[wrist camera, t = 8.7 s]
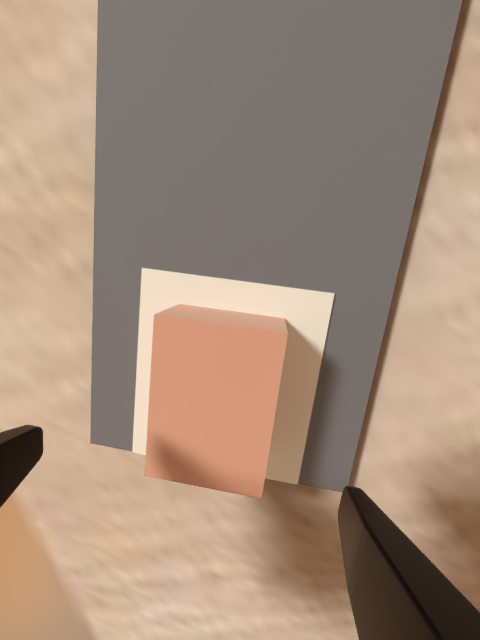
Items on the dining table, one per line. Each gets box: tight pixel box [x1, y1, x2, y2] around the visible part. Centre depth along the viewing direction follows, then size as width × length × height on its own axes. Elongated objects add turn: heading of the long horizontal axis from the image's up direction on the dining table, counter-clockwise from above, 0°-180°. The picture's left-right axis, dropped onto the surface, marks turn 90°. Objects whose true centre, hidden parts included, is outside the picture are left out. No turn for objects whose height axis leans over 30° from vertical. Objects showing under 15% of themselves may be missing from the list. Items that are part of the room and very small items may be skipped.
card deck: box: [145, 304, 288, 499], centre depth 12 cm, size 7×5×3 cm
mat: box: [90, 0, 463, 492], centre depth 13 cm, size 14×24×1 cm, turn 173°
